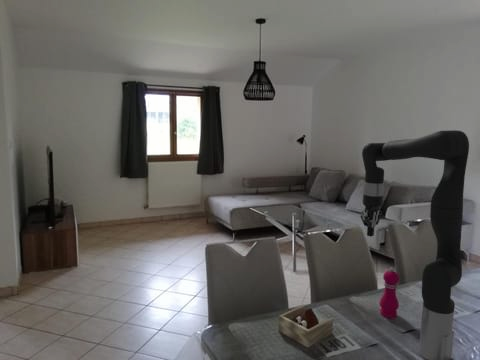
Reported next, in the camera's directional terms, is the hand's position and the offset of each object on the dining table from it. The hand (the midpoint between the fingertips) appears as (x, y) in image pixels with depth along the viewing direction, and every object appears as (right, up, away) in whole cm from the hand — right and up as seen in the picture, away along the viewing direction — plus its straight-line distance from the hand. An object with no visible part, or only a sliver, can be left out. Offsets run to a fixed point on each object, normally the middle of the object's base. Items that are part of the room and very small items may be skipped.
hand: (370, 235), depth 158 cm
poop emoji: (-27, -34, -11) cm, 45 cm away
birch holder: (-28, -34, -12) cm, 45 cm away
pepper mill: (+8, -32, +2) cm, 33 cm away
